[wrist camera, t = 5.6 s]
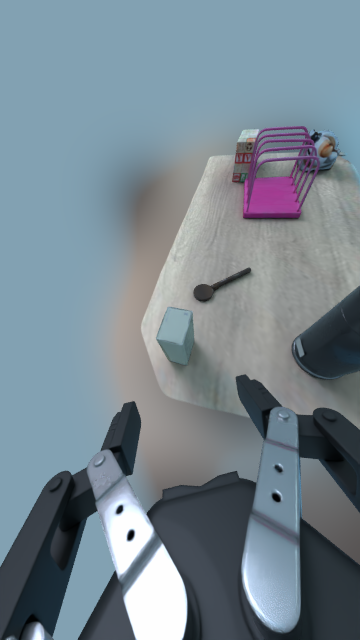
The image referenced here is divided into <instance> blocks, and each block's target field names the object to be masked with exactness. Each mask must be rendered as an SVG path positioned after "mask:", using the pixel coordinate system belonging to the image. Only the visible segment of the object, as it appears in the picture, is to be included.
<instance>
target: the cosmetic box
mask: <svg viewBox="0 0 360 640" xmlns="http://www.w3.org/2000/svg"><path fill="white" fill-rule="evenodd" d="M156 339H157V341H158V343H159V345H160V346H161V348H162V350H163V352H164V353H165V355H166V357H167V359H168V360H169V361H172V362H176V363H179V364H183V365H187V364H188V361H189V357H190V354H191V350H192V347H193V343H194V328H193V312H192V311H188V310H184V309H179V308H173V307H168V308H167V311H166V313H165V315H164V318H163V320H162V323H161V326H160V328H159V331H158V334H157V337H156Z"/></svg>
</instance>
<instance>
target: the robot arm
mask: <svg viewBox="0 0 360 640" xmlns="http://www.w3.org/2000/svg"><path fill="white" fill-rule="evenodd" d="M292 354H293V357H294V359H295V361H296V362H297V364H298V365H299V366H300V367H301V368H302V369H303V370H304V371H306V372H307V373H309V374H310V375H312V376H314V377H317V378H320V379H335V378H339V377H341V376H343V375H346V374H350V373H354V372H357V371H360V286H358V287H357V288H356V289H355V290H354V291H352V292H351V293H350V294H349V295H348V296H346V297H345V298H344V299H343V300H342V301H341V302H339V303H338V304H337V305H336V306H335V307H333V308H332V309H331V310H330V311H329V312H327V313H326V314H325V315H324V316H323V317H321V318H320V319H319V320H318V321H317V322H315V323H314V324H313V325H312V326H311V327H309V328H308V329H307V330H306V331H305V332H303V333H302V334H300V335H299V336H298V337H297V338H296V339H295V340H294V341H293V344H292ZM236 383H237V390H238V395H239V398H240V401H241V403H242V404H243V406H244V407H245V409H246V411H247V412H248V414H249V416H250V417H251V419H252V421H253V422H254V424H255V426H256V427H257V429H258V431H259V432H260V433H261V436H262V437H263V438H264V441H263V447H262V453H261V460H260V466H259V472H258V478H257V483H255V482H253V481H250V480H247V479H243V478H239V476H238V474H237V471H235V472H230V473H227V474H223V475H219V476H217V477H215V478H214V479H212V480H211V481H209V482H207V483H206V484H204V485H202V486H187V485H179V486H176V487H172V488H168V489H164V490H163V498H162V499H160V500H159V501H158V502H156V503H155V504H154V505H153V506H152V507H151V509H150V510H149V511H148V512H147V514H146V513H145V511H144V509H143V507H142V506H141V504H140V502H139V500H138V498H137V496H136V495H135V493H134V491H133V489H132V487H131V485H130V483H129V482H128V480H127V478H126V476H128V475H132V474H133V468H134V463H135V457H136V451H137V446H138V440H139V434H140V428H141V418H140V415H139V412H138V409H137V407H136V403H135V402H134V401H133V402H129V403H125V404H124V405H123V407H122V410H121V412H118V413H117V414H116V416H115V417H114V418H113V420H112V422H111V426H110V428H109V430H108V433H107V435H106V438H105V440H104V443H103V446H102V448H101V451H100V452H99V453H97V454H96V455H95V456H94V457H93V458H92V459H91V460H90V462H89V464H88V466H87V468H85V469H83V470H81V471H80V472H78V473H76V474H74V475H71V473H70V472H69V471H63V472H60V473H58V474H57V475H55V476H54V477H53V478H52V479H51V480H50V481H49V482H48V483H47V484H46V486H45V487H44V488H43V490H42V492H41V494H40V496H39V497H38V499H37V501H36V503H35V505H34V507H33V508H32V510H31V512H30V514H29V516H28V518H27V519H26V521H25V523H24V525H23V527H22V529H21V530H20V532H19V534H18V536H17V538H16V540H15V541H14V543H13V545H12V547H11V549H10V551H9V552H8V554H7V556H6V558H5V560H4V561H3V563H2V565H1V567H0V640H54V639H53V638H52V636H53V633H54V630H55V626H56V623H57V619H58V616H59V613H60V609H61V606H62V602H63V599H64V596H65V592H66V588H67V585H68V582H69V578H70V575H71V572H72V568H73V565H74V561H75V558H76V555H77V551H78V548H79V544H80V541H81V537H82V534H83V531H84V527H85V524H86V520H87V517H89V516H90V515H92V514H93V513H94V512H96V511H98V514H99V517H100V520H101V523H102V526H103V530H104V533H105V536H106V539H107V543H108V546H109V549H110V552H111V556H112V559H113V562H114V565H115V569H116V570H115V572H114V574H113V575H112V577H111V579H110V581H109V583H108V585H107V586H106V588H105V590H104V592H103V594H102V595H101V597H100V599H99V601H98V603H97V605H96V607H95V608H94V611H93V612H92V614H91V616H90V618H89V619H88V621H87V623H86V625H85V627H84V629H83V630H82V632H81V634H80V636H79V638H78V640H360V565H359V564H358V563H356V562H355V561H354V560H353V559H352V558H350V557H349V556H348V555H347V554H345V553H344V552H343V551H342V550H340V549H339V548H338V547H337V546H335V545H334V544H333V543H332V542H330V541H329V540H328V539H327V538H326V537H324V536H323V535H322V534H321V533H319V532H318V531H317V530H316V529H314V528H313V527H312V526H311V525H310V524H308V523H307V522H306V521H305V520H303V519H302V503H301V477H300V476H301V475H300V474H301V473H300V457H302V458H313V459H319V461H320V462H321V463H322V465H323V466H324V467H325V468H326V470H327V471H328V472H329V474H330V475H331V476H332V477H333V479H334V480H335V481H336V483H337V484H338V485H339V486H340V488H341V489H342V490H343V492H344V493H345V494H346V496H347V497H348V498H349V499H350V501H351V502H352V503H353V505H354V506H355V507H356V508H357V510H358V511H359V512H360V430H359V429H358V428H357V427H356V426H354V425H353V424H352V423H351V422H350V421H349V420H347V419H346V418H345V417H344V416H343V415H341V414H340V413H338V412H337V411H335V410H332V409H328V408H317V409H315V410H314V411H313V415H298V414H295V413H294V412H293V411H292V410H290V409H288V408H285V407H282V406H281V404H280V403H279V402H278V401H277V400H276V399H275V398H274V397H273V396H272V395H271V393H270V392H269V391H268V390H267V389H266V388H265V387H264V386H263V385H262V383H260V382H259V381H257V380H255V379H254V380H250V379H249V378H248V376H247V375H241V376H237V377H236Z"/></svg>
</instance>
